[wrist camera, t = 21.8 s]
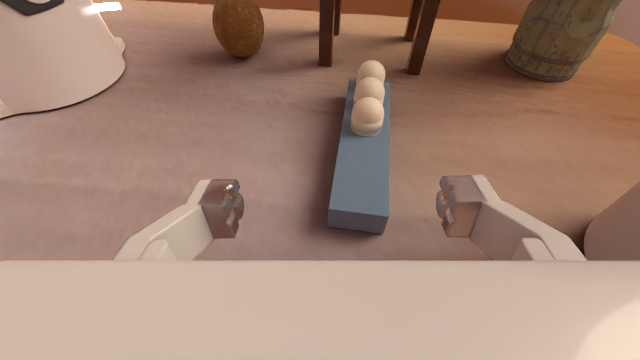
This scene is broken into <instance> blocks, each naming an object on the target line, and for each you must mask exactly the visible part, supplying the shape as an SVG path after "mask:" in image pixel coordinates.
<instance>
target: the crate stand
mask: <svg viewBox="0 0 640 360" xmlns="http://www.w3.org/2000/svg"><path fill="white" fill-rule="evenodd" d="M341 2H342V0H320V27H319V65H320V66H331V64H332V57H333V37H334V34H335V35H339V31H340V18H341ZM439 4H440V0H412V3H411V8H410V12H409V16H408V21H407V25H406V30H405V34H404V39H405V40H407V41H413V42H412V46H411V50H410V54H409V58H408V62H407V66H406V70H407V74H416V75H419V74H420V70H421V67H422V63H423V60H424V56H425V53H426V49H427V46H428V42H429V39H430V35H431V32H432V28H433V25H434V21H435V18H436V14H437V11H438V7H439Z"/></svg>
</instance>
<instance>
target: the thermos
mask: <svg viewBox="0 0 640 360" xmlns="http://www.w3.org/2000/svg"><path fill="white" fill-rule="evenodd" d="M621 1H622V0H532V1H531V2H530V3H529V5H528V7H527V10H526V11H525V14H524V15H523V17H522V20H521V22H520V24H519V26H518V28H517V30H516V32H515V34H514V36H513V42H512V44H511V46H510V48H509V50H508V51H507V53H506V55H505V61H506V63H507V64H508V65H509V66H510V67H511V68H512V69H514V70H515V71H517V72H519V73H520V74H523V75H525V76H528V77H530V78H534V79H538V80H542V81H551V82H559V81H566V80H569V79H571V78H572V77H573V76H574V75H575V73H576V72H577V69H578V68H579V66H580V65H581V64H582V62H583V61H584V60H586V59H587V58H588V57H589V56H590V54H591V53H592V52H593V50H594V49H595V47H596V46H597V45H598V43H599V42H600V40H601V39H602V37H603V36H604V35H605V33H606V32H607V30H608V29H609V28H610V26H611V25H612V23H613V20H614V17H615V13H616V10H617V7H618V5H619V4H620V2H621Z"/></svg>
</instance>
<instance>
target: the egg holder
mask: <svg viewBox="0 0 640 360" xmlns="http://www.w3.org/2000/svg"><path fill="white" fill-rule="evenodd" d="M384 80H385V69H384V67H383V65H382V64H381V63H379V62H378V61H375V60H369V61H366V62H364V63H363V64H362V65H361V66H360V67H359V69H358V72H357V78H356V79H353V78H350V81H349V87H348V93H347V99H346V105H345V111H344V117H343V123H342V129H341V135H340V141H339V147H338V153H337V159H336V165H335V171H334V177H333V183H332V189H331V195H330V201H329V207H328V220H327V226H329V227H336V228H343V229H350V230H358V231H365V232H372V233H379V234H383V233H384V230H385V227H386V224H387V220H388V217H389V116H390V82H384Z"/></svg>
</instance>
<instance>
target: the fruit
mask: <svg viewBox="0 0 640 360" xmlns="http://www.w3.org/2000/svg"><path fill="white" fill-rule="evenodd" d="M212 21H213V28H214V31H215V34H216V36H217V38H218V40H219V42H220V43H221V45H222V46H223V48H224V49H225V50H226V51H227V52H228V53H230V54H232V55H233V56H237V57H241V58H246V57H248V56H250V55H253V54H254V53H256V52H257V51H258V50H259V49H260V46H261V44H262V41H263V34H264V22H263V17H262V14H261V11H260V9H259V7H258V6H257V4H256V2H255V1H254V0H217V1H216V3H215V6H214V10H213V19H212Z"/></svg>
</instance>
